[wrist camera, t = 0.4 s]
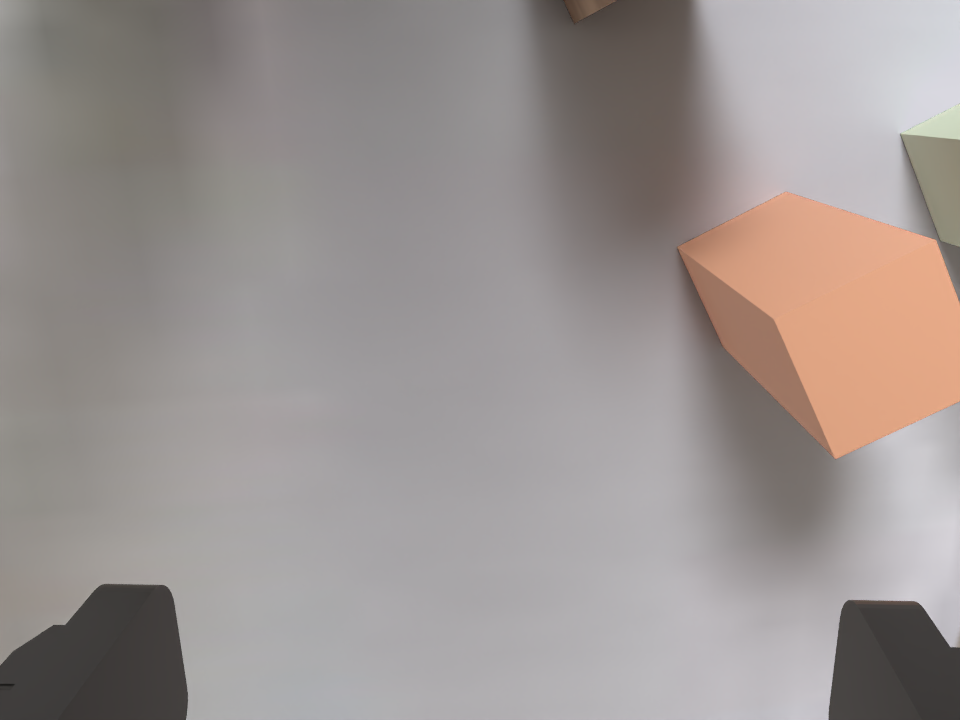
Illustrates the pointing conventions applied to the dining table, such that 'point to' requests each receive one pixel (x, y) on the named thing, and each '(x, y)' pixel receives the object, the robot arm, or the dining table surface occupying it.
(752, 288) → the terracotta block
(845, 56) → the dining table surface
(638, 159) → the dining table surface
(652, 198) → the dining table surface
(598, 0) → the walnut block
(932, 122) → the sage block
